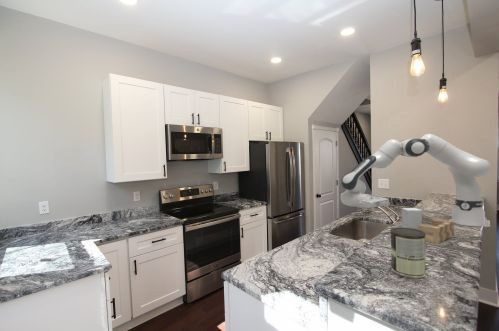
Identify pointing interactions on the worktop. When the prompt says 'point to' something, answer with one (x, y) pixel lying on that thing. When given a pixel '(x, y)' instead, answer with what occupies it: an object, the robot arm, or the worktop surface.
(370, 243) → the worktop surface
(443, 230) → the oak rack
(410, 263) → the coffee can
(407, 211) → the supplement box
